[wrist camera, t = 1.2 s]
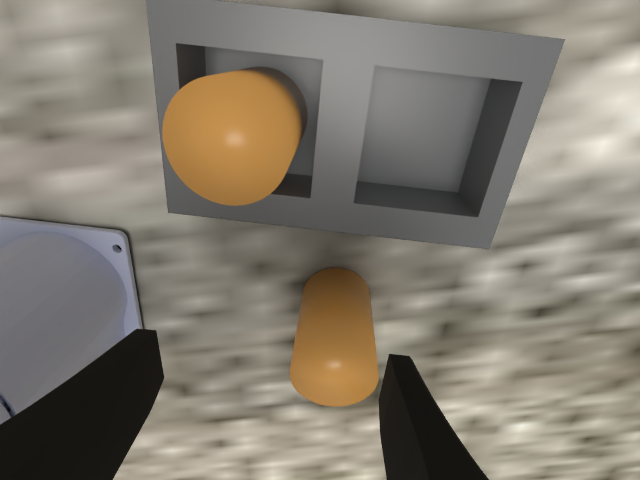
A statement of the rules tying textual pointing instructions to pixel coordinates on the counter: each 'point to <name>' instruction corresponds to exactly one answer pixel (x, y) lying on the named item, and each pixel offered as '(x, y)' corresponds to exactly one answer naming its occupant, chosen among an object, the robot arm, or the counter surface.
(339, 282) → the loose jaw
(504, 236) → the counter surface
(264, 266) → the counter surface
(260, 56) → the housing
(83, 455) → the robot arm
